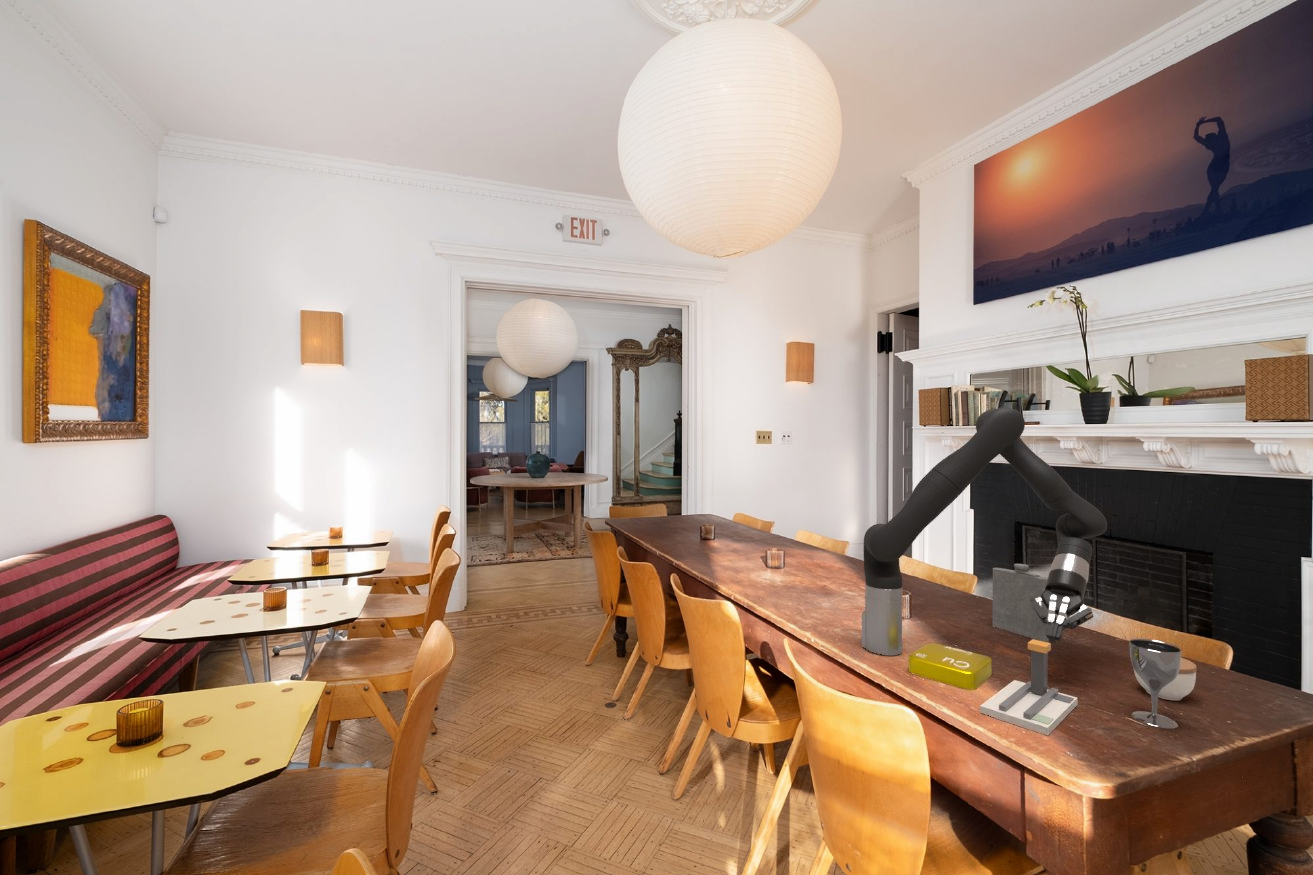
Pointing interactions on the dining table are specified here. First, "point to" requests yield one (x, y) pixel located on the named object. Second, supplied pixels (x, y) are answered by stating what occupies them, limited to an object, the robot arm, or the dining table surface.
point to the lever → (1039, 665)
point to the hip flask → (1018, 601)
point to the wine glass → (1155, 674)
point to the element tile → (951, 666)
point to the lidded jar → (1176, 682)
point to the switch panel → (1029, 707)
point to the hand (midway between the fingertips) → (1052, 639)
